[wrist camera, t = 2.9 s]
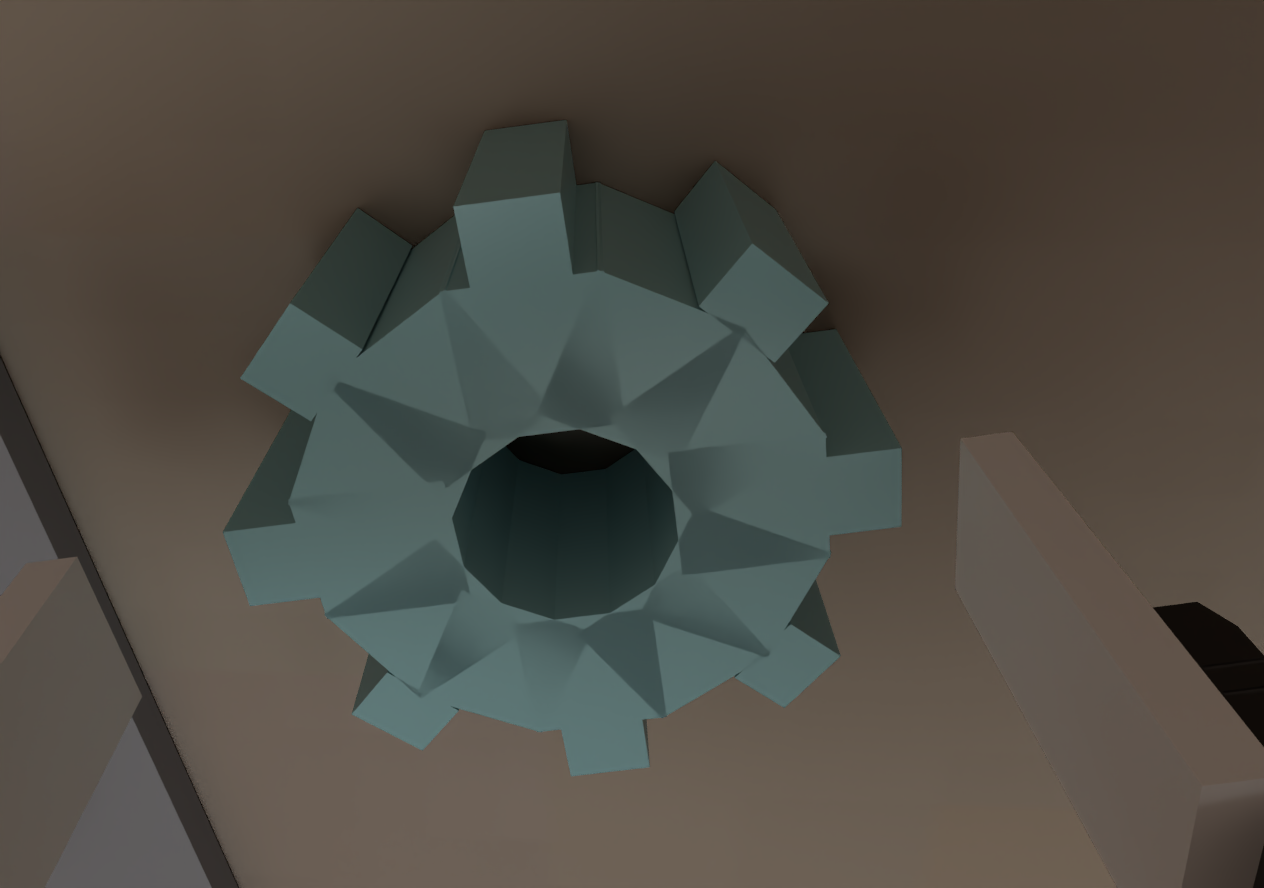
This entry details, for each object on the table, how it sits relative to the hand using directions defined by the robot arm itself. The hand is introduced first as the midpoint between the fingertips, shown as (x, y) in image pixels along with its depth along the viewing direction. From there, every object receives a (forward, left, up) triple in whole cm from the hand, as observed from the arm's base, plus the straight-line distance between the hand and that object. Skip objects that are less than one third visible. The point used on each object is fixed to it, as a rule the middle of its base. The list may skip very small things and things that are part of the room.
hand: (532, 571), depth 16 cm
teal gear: (0, 0, -6) cm, 6 cm away
